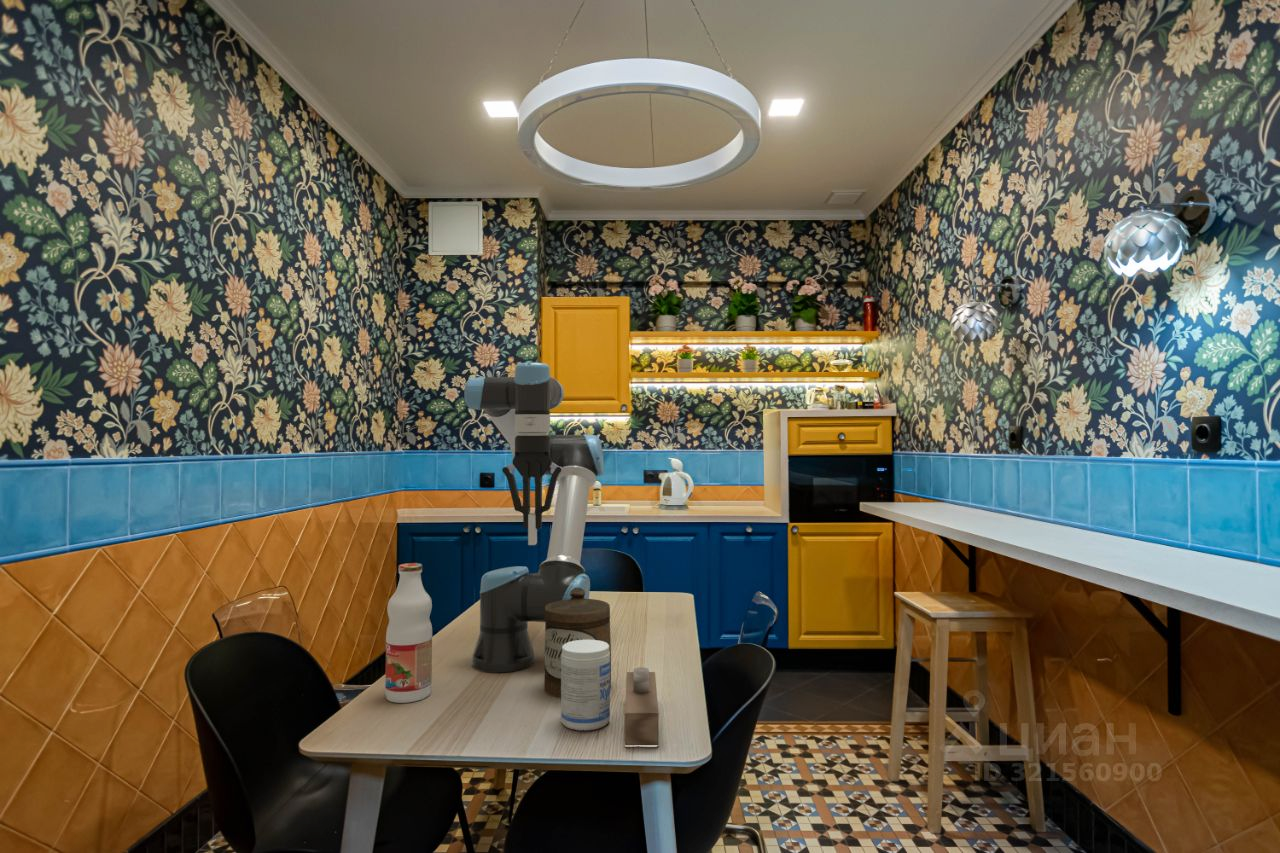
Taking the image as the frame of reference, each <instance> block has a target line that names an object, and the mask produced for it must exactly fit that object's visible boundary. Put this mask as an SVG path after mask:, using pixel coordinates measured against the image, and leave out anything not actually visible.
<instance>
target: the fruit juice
mask: <svg viewBox="0 0 1280 853" xmlns="http://www.w3.org/2000/svg"><path fill="white" fill-rule="evenodd" d="M397 570H398V574H399V580H398V584H397V587H396V589H395V591H394V593H393V595H392V596H391V597H390V598H389V600H388V603H387V616H388V619H389V620H388V625H387V627H386V634H385V679H384V680H385V683H384V684H385V685H384V686H385V689H384V690H385V691H384V693H385V695H384V696H385V699H386V700H387V701H388V702H391V703H396V704H406V703H414V702H419V701H421V700H424V699H425V698H427V697H429V696H430V694H431V692H432V682H433V681H432V678H433V677H432V673H433V672H432V670H433V666H432V665H433V663H432V662H433V660H432V659H433V627H432V626H433V625H432V623H431V620H430V615H431V613H432V608H433V604H432V602H433V601H432V597H431V596H430V595H429V593H428V592H427V591H426V590H425V588H424V586H423V582H422V581H423V580H422V575H421V574H422V572H423V564H422V563H418V562H411V563H407V562H406V563H402V564H399V565H398V569H397Z"/></svg>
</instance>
